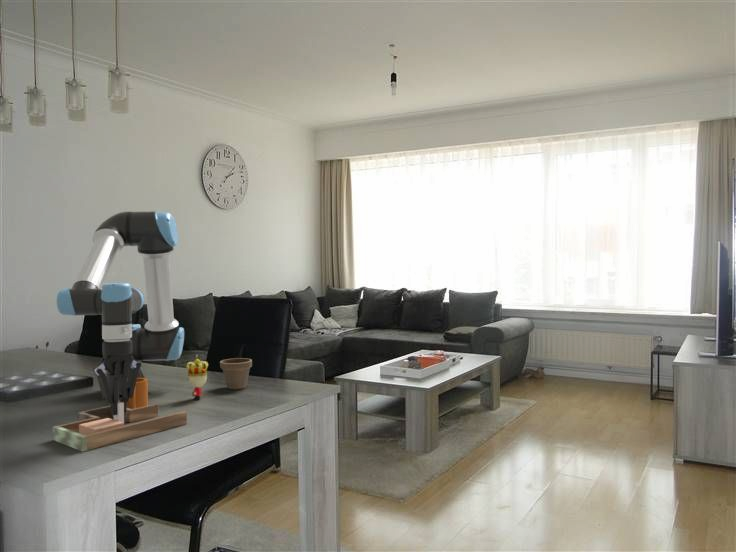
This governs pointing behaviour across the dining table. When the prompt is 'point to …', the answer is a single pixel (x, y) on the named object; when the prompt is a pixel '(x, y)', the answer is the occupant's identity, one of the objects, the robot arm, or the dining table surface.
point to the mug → (139, 394)
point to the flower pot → (236, 372)
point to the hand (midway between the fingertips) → (118, 425)
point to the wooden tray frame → (72, 438)
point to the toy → (197, 376)
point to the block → (99, 426)
